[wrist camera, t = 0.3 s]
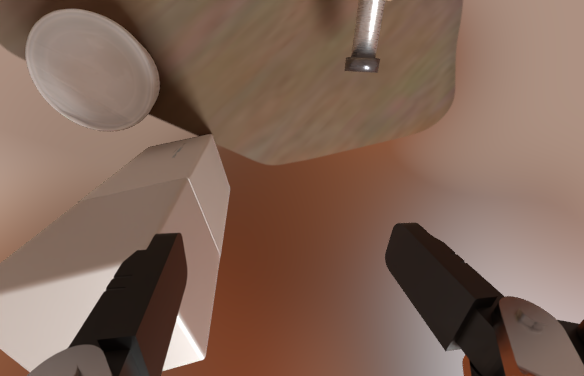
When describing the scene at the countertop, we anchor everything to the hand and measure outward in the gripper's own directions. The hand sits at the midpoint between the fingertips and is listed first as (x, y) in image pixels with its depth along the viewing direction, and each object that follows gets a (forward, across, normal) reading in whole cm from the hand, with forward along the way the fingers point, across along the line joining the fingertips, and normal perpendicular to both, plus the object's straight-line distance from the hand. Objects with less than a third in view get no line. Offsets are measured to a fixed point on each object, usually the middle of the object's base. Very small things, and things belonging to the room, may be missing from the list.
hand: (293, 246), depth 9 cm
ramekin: (+28, +17, -4) cm, 33 cm away
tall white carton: (+28, +10, +8) cm, 30 cm away
